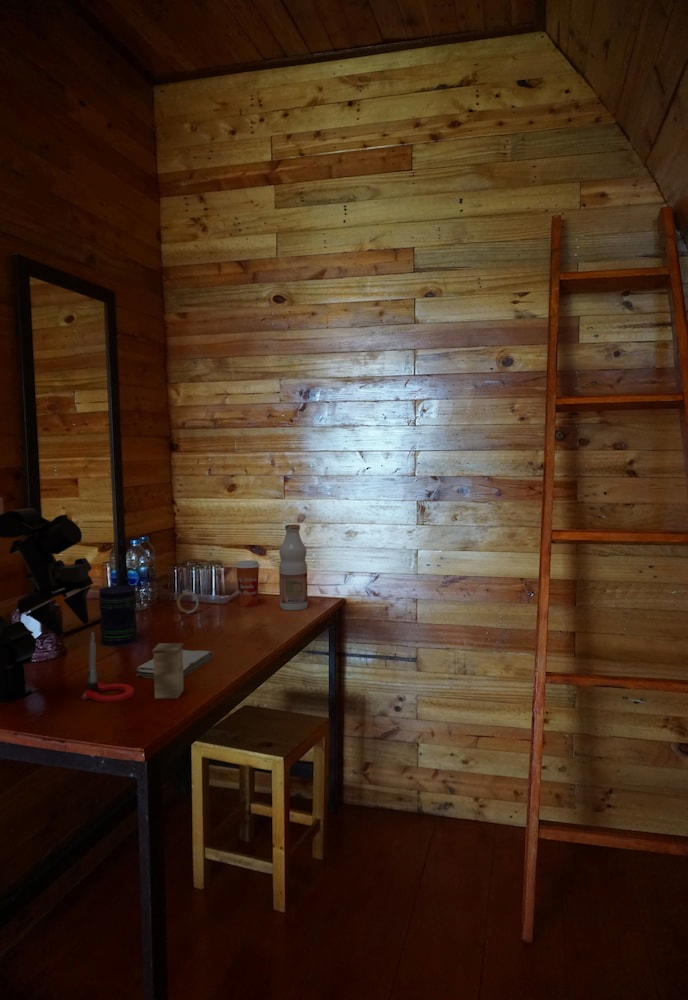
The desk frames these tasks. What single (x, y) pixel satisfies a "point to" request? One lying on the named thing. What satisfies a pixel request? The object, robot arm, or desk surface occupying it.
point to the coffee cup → (248, 582)
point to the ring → (183, 595)
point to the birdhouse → (168, 670)
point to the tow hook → (98, 686)
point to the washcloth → (190, 663)
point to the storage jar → (118, 615)
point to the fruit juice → (293, 571)
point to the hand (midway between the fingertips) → (74, 628)
